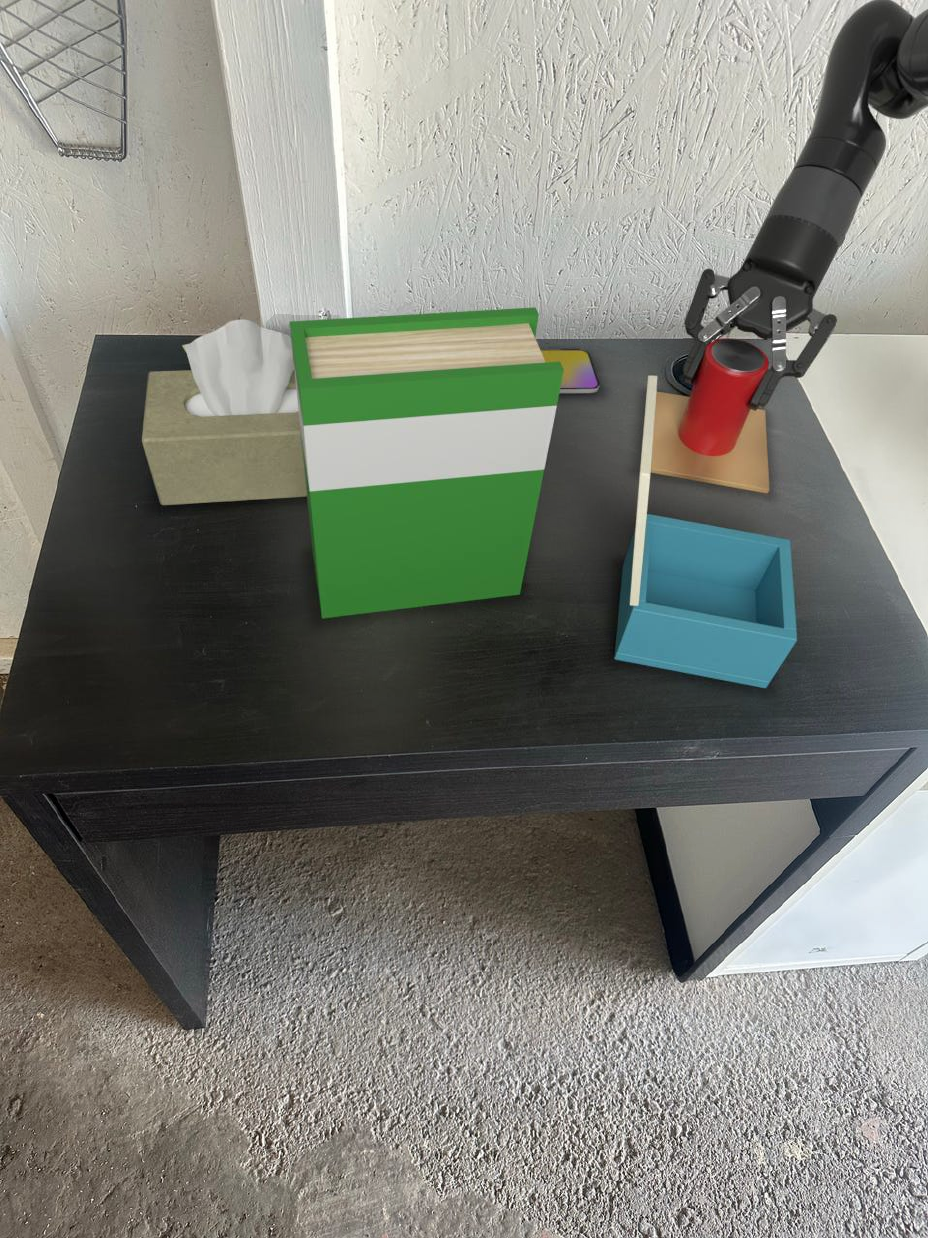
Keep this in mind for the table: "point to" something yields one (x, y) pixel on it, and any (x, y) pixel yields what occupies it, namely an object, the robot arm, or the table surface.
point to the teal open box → (709, 602)
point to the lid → (643, 489)
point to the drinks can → (722, 396)
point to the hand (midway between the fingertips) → (720, 394)
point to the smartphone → (574, 370)
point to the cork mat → (731, 469)
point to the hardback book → (422, 454)
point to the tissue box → (226, 420)
